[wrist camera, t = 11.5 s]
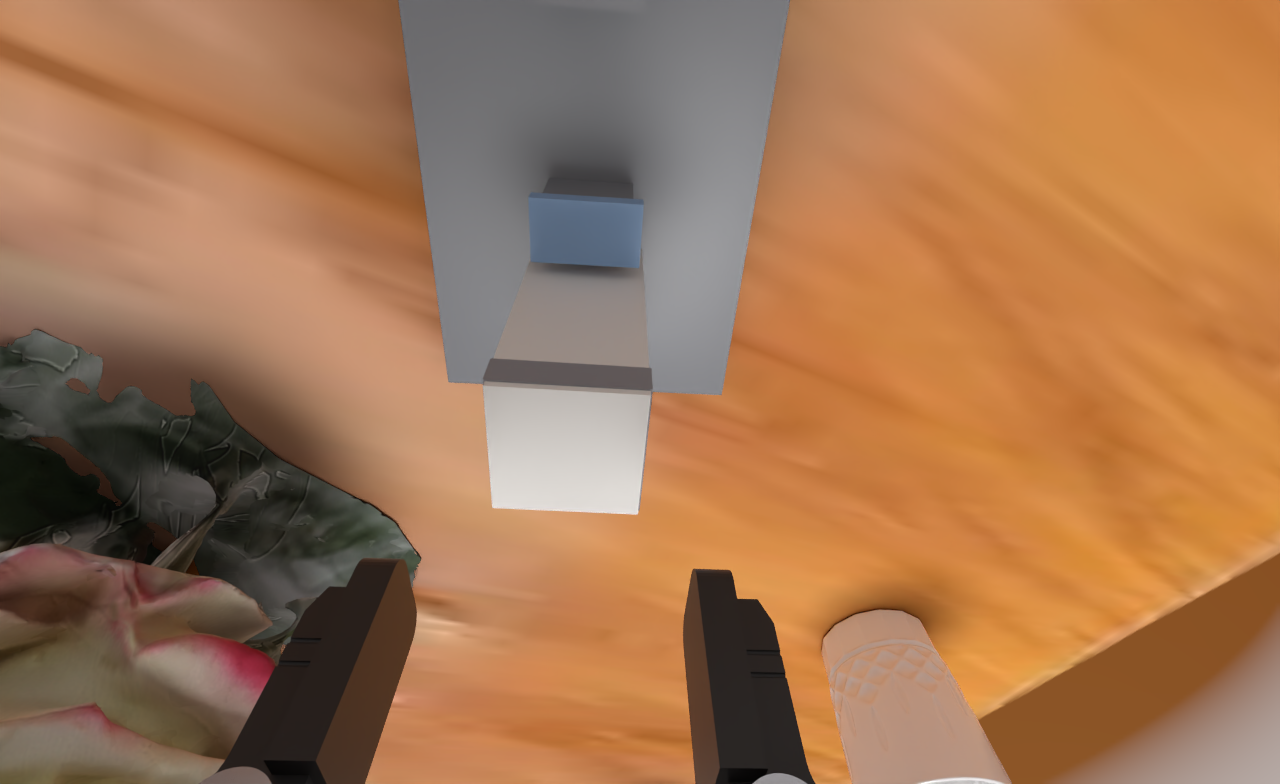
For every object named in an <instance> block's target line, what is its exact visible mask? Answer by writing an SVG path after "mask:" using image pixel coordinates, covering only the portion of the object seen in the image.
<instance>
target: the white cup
mask: <svg viewBox="0 0 1280 784" xmlns="http://www.w3.org/2000/svg"><path fill="white" fill-rule="evenodd" d="M822 657H823V661H824V665H825V669H826V673H827V677H828V680H829V684H830V693H831V699H832V704H833V707H834V711H835V714H836V720H837V725H838V730H839V734H840V739H841V743H842V747H843V751H844V755H845V759H846V763H847V767H848V771H849V775H850V779H851V783H852V784H1012V783H1011V781H1010V779H1009V778H1008V776H1007V774H1006V772H1005V770H1004V768H1003V766H1002V764H1001V763H1000V761H999V759H998V757H997V755H996V753H995V752H994V750H993V748H992V746H991V744H990V742H989V741H988V739H987V737H986V735H985V733H984V731H983V729H982V728H981V725H980V723H979V722H978V720H977V718H976V716H975V714H974V712H973V710H972V708H971V707H970V705H969V704H968V702H967V701H966V699H965V697H964V695H963V693H962V691H961V689H960V687H959V685H958V683H957V682H956V680H955V679H954V677H953V676H952V674H951V672H950V670H949V668H948V666H947V664H946V663H945V662H944V661H943V660H942V659H941V657H940V655H939V653H938V652H937V651H936V649H935V647H934V645H933V643H932V641H931V639H930V637H929V635H928V634H927V632H926V630H925V628H924V626H923V625H922V623H921V621H920V620H919V619H918V618H916V617H914V616H912V615H910V614H908V613H905V612H903V611H898V610H882V609H878V610H873V611H868V612H863V613H859V614H855V615H853V616H851V617H849V618H847V619H845V620H843V621H841V622H840V623H838V624H836V625H835V626H834V627H833V628H832V629H831V630H830V631H829V632H828V634H827V635H826V636H825V637H824V638H823V645H822Z"/></svg>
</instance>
